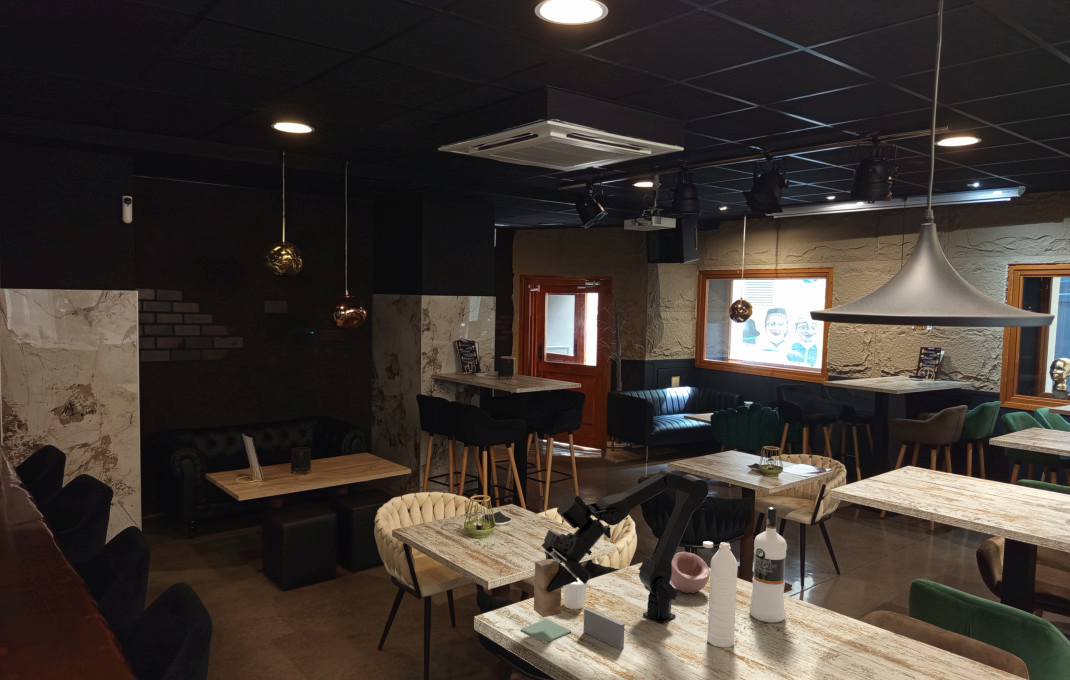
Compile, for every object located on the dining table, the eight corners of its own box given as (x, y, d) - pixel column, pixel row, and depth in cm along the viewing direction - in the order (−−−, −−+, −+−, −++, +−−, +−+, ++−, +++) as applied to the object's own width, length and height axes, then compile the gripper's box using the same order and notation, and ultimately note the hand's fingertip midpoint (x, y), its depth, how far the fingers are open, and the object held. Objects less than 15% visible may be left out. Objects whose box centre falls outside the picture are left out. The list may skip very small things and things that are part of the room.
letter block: (551, 606, 183) (553, 558, 182) (561, 613, 178) (562, 564, 178) (533, 609, 180) (535, 561, 180) (542, 617, 176) (544, 567, 175)
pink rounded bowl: (682, 601, 201) (683, 562, 200) (659, 586, 212) (660, 548, 211) (717, 596, 205) (718, 557, 205) (692, 581, 216) (694, 544, 216)
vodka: (792, 621, 190) (797, 510, 189) (765, 626, 187) (770, 513, 186) (768, 607, 199) (773, 501, 198) (741, 612, 195) (747, 504, 194)
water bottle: (729, 636, 180) (734, 539, 179) (737, 648, 174) (742, 547, 173) (695, 635, 180) (699, 538, 179) (702, 647, 173) (706, 546, 172)
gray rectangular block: (586, 630, 180) (587, 607, 180) (623, 648, 172) (624, 623, 172) (583, 632, 180) (584, 609, 179) (620, 649, 171) (621, 625, 171)
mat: (545, 620, 186) (546, 618, 186) (571, 632, 179) (571, 630, 179) (520, 630, 180) (520, 628, 180) (546, 643, 173) (546, 641, 173)
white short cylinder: (584, 611, 192) (585, 586, 192) (559, 608, 194) (560, 583, 193) (587, 601, 199) (588, 576, 199) (563, 598, 200) (564, 574, 200)
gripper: (549, 509, 188) (509, 554, 185) (580, 530, 171) (536, 580, 167) (575, 535, 192) (536, 580, 188) (608, 559, 174) (565, 609, 171)
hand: (542, 586), depth 178 cm, fingers closed on letter block, 5 cm apart
